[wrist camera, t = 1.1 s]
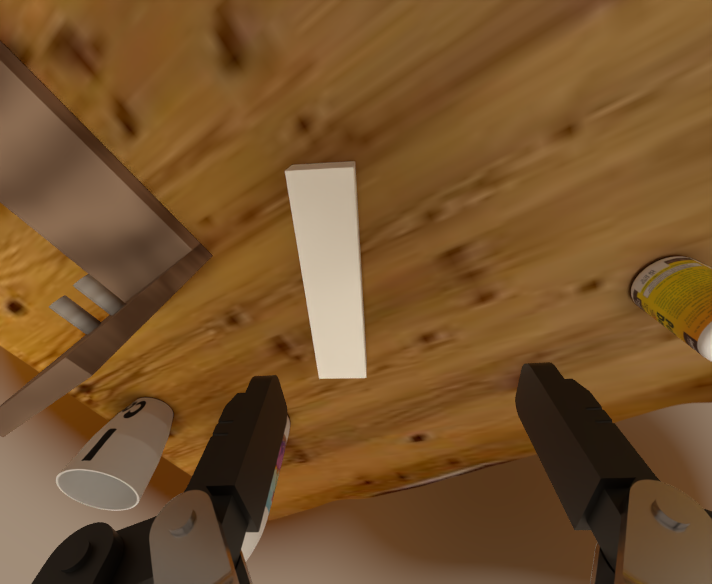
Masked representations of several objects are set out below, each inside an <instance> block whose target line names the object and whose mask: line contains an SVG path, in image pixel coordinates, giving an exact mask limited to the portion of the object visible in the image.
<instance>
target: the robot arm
mask: <svg viewBox="0 0 712 584" xmlns="http://www.w3.org/2000/svg"><path fill="white" fill-rule="evenodd" d="M515 402H516V409H517V412H518V415H519V418H520V420H521V422H522V424H523V426H524V428H525V430H526V432H527V434H528V436H529V438H530V440H531V442H532V444H533V446H534V448H535V450H536V452H537V454H538V456H539V458H540V460H541V463H542V465H543V467H544V468H545V471H546V473H547V475H548V477H549V479H550V481H551V483H552V485H553V487H554V489H555V491H556V493H557V495H558V497H559V499H560V501H561V503H562V505H563V507H564V509H565V511H566V513H567V516H568V517H569V520H570V522H571V524H572V526H573V528H574V530H592V532H593V534H594V536H595V538H596V540H597V542H598V543H597V545H596V548H595V555H594V561H593V568H592V576H591V581H590V584H712V511H709V510H706V509H703V508H702V507H701V506H700V505H699V504H698V503H697V502H696V501H695V500H693V499H692V498H691V497H689V496H688V495H687V494H685V493H684V492H682V491H680V490H679V489H677V488H675V487H673V486H671V485H668V484H666V483H663V482H661V481H660V480H659V479H658V478H657V477H656V476H655V474H654V473H653V472H652V471H651V469H650V468H649V467H648V466H647V464H646V463H645V462H644V460H643V459H642V458H641V457H640V455H639V454H638V453H637V452H636V450H635V449H634V448H633V446H632V445H631V444H630V443H629V441H628V440H627V439H626V437H625V436H624V435H623V434H622V432H621V431H620V430H619V429H618V427H617V426H616V425H615V423H612V419H611V418H610V417H609V416H608V414H607V413H606V412H605V411H604V410H602V407H601V405H600V404H599V403H598V402H597V400H596V399H595V398H594V396H593V395H592V394H591V393H590V391H588V390H587V389H586V388H584V387H583V386H581V385H580V384H579V383H577V382H576V381H575V380H573V379H564V378H563V376H562V375H561V374H560V372H559V371H558V369H557V368H556V367H555V366H554V365H553V364H552V363H550V362H548V363H528V364H524V365H523V366H522V370H521V374H520V379H519V383H518V388H517V392H516V398H515ZM286 423H287V406H286V402H285V399H284V395H283V392H282V389H281V386H280V382H279V379H278V377H277V376H276V375H272V376H254V377H253V378H252V379H251V381H250V383H249V386H248V388H247V390H246V393H237V394H236V395H235V396H234V398H233V399H232V400H231V401H230V402H229V403H228V404H227V405H226V406H225V408H224V410H223V412H222V415H221V417H220V419H219V423H218V424H217V425H216V427H215V429H214V431H213V436H212V437H211V438H210V440H209V442H208V444H207V446H206V448H205V450H204V453H203V455H202V457H201V459H200V461H199V463H198V465H197V467H196V469H195V472H194V474H193V476H192V478H191V480H190V482H189V484H188V486H187V488H186V490H185V491H184V493H182V494H180V495H178V496H176V497H175V498H173V499H172V500H171V501H169V502H168V503H167V504H166V505H165V506H164V507H163V508H162V510H161V511H160V512H159V514H158V515H157V516H155V517H153V518H151V519H148V520H145V521H143V522H140V523H137V524H134V525H132V526H129V527H126V528H124V529H121V530H118V531H115V530H114V529H113V528H112V527H111V526H109V525H108V524H106V523H102V522H101V523H100V522H98V523H93V524H90V525H87V526H85V527H83V528H81V529H79V530H77V531H76V532H74V533H73V534H72V535H70V536H69V537H68V538H67V539H65V540H64V541H63V542H62V543H61V544H60V545H59V546H58V547H57V548H56V549H55V550H54V552H53V553H52V554H51V555H50V557H49V558H48V560H47V561H46V563H45V564H44V566H43V567H42V569H41V570H40V572H39V573H38V575H37V576H36V578H35V579H34V581H33V582H32V584H253V583H252V580H251V577H250V574H249V571H248V568H247V565H246V562H245V559H244V556H243V553H242V550H241V548H242V544H243V541H244V537H245V534H246V532H259V530H260V526H261V522H262V518H263V514H264V510H265V506H266V502H267V498H268V495H269V491H270V487H271V483H272V479H273V475H274V471H275V467H276V463H277V459H278V455H279V451H280V447H281V443H282V440H283V436H284V432H285V428H286Z"/></svg>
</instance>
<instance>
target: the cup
mask: <svg viewBox="0 0 712 584" xmlns="http://www.w3.org/2000/svg"><path fill="white" fill-rule="evenodd" d="M172 420H173V411H172V409H171V408H170V407H169V406H168V405H167V404H166V403H164V402H162V401H160V400H157V399H154V398H140V399H137V400H136V401H135V402H133V403H132V404H130V405H129V406H128V407H126V408H125V409H124V410H122V411H121V412H119V413H118V414H117V415H116V416H115V417H114V418H113V419H111V420H110V421H109V422H108V423H107V424H106V425H105V426H104V427H103V428H102V429H101V430H100V431H99V432H98V433H96V434H95V435H94V436H93V437H92V438H91V439H90V440H89V441H88V443H87V444H86V445H85V446H84V447H83V448H82V449H81V450H80V451H79V452H78V454H77V455H76V456H75V457H74V458H73V459H72V460H71V461H70V462H69V463H68V465H67V466H66V467H65V468H64V469H63V470H62V471H61V472H60V474H58V476H57V477H56V483H57V486H58V487H59V489H60V490H61V491H62V492H63V493H65V494H66V495H67V496H69V497H70V498H72V499H74V500H76V501H78V502H80V503H82V504H85V505H88V506H91V507H95V508H99V509H104V510H127V509H130V508H133V507H135V506H136V505H137V504H138V502H139V500H140V498H141V496H142V494H143V492H144V490H145V488H146V486H147V484H148V483H149V480H150V478H151V477H152V475H153V473H154V471H155V468H156V467H157V465H158V462H159V460H160V457H161V455H162V452H163V449H164V447H165V444H166V442H167V439H168V437H169V433H170V429H171V424H172Z"/></svg>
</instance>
